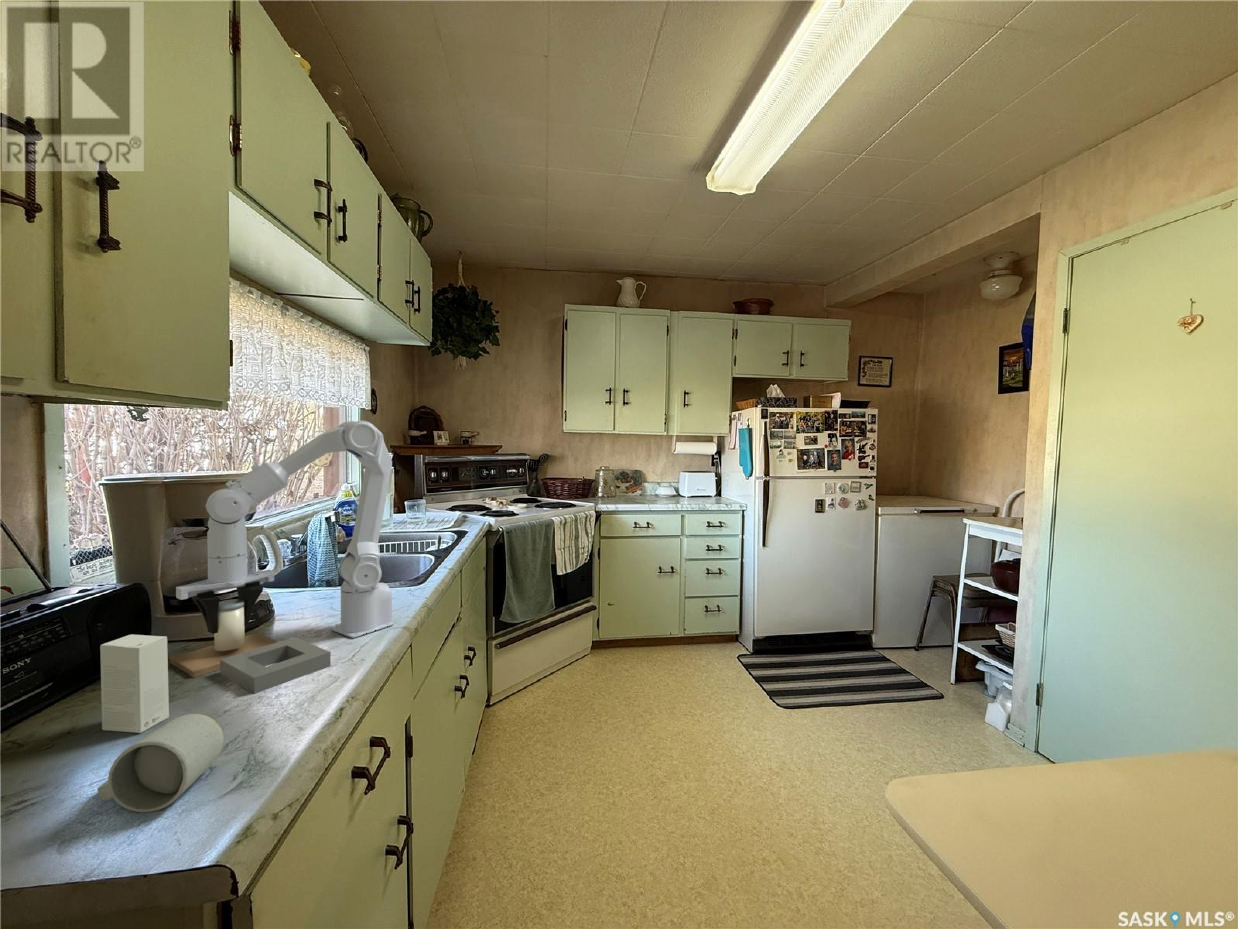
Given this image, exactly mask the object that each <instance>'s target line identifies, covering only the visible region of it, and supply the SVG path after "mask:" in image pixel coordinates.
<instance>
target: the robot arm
mask: <svg viewBox="0 0 1238 929" xmlns="http://www.w3.org/2000/svg"><path fill="white" fill-rule="evenodd" d="M341 452H349V453H350V454H351V455H353V456H354V457H355V458H356V459H357V461H358V462H360V463H361V465H362V466H363V467H364V471H363V476H362V482H361V489H360V492H359V498H358V505H357V511H356V515H355V521H354V526H353V530H352V537H351V541H350V542H349V544H348V546H347V548H346V553H345V555H344V557H343V558H342V559H341V560H340V562H339V565H338V573H339V576H340V577H341V578H342V579H343V582H342V584H341V585H340V624H339V625H337V626H333V627H331V631H333V632H336V633H338V634H341V635H343V636H346V637H349V638H351V639H355V638H358V637H361V636H364V635H367V634H370V633H372V632H376V631H379V630H382V629H385V628H387V626H388V627H390V626H393V625H394V624H395V622H393V621H392V620H393V619H392V618H393V617H392V616H393V615H392V614H393V613H392V612H393V607H392V606H393V603H392V602H393V601H392V600H393V599H392V598H393V597H392V591H391V588H390V587H389V586H388V584H387V583H385V582H380V581H381V578H382V573H383V572H382V569H381V565H380V558H381V554H380V553H381V552H380V547H379V539H380V533H381V529H382V523H383V517H384V511H385V506H386V501H387V494H388V489H389V484H390V478H391V472H392V468H393V460H392V458H391V457H392V456H391V455H390V453H389V450H388V448H387V446H386V443H385V441H384V434H383V433H382V432H381V431H380V430H379V428H377V427H376V426H375V425H374V424H372V423H371V422H369V421H366V420H357V421H353V420H349V421H348V420H346V421H344V422H342V423H340V424H339V425H338V426H336V427H333V428H330V429H329V430H326V431H324V432H322V433H320V434H319V435H317V436H316V437H314V438H313V439H312V440H310V441H308V442H307V443H305V444H303V446H301V447H299V448H298V449H296V450H295V451H293V452H291V453H290V454H289V455H287V456H286V457H285V458H283V459H281V460H280V461H278V462H268V461H266V462H263V463H261V464H259V463H255V464H253V465H252V466H250V469H251V470H250V471H249V472H247V473H246V474H244V475H242V476H241V477H239V478H237V479H235V480H234V481H233V482H232V480H228V482H226V483H225V486H226V487H227V488H221V489H217V490H215V491H214V492H212V493H211V494H209V496H208V498H207V500H206V504H205V506H204V507H205V509H206V512H207V513H208V515H209V517H208V521H207V527H208V531H207V533H206V534H207V535H206V536H207V538H206V540H207V541H206V542H207V545H206V546H207V579H203V580H200V581H196V582H192V583H189V584H185V585H179V586H176V587H175V597H176V599H178V600H180V601H181V600H187V599H189V598H191V599H192V600H193V602H194V603H195V605H196V606H197V608H198V609H199V611H200V613H201V614H202V617H203V619H204V621H205V624H206V625H205V626H206V629H207V632H208V633H210V634H211V635H214V634H215V633H217V632H218V618H217V615H218V606H219V602H221V601H220V600H221V598H220V597H218V596H217V594H216V593H217V592H222V591H227V590H232V589H236V592H237V597H238V598H237V599H242V600H244V601H245V606H244V626H248V625H250V620H251V618H252V617H251V616H252V613H253V610H254V608H255V606H256V603H257V601H258V600H259V598H260V596H261V594H262V593H263V591H264V585H262V584H261V583H265V582H266V583H271V582H275V571H274V570H271V569H267V570H260V571H249V572H248V529H247V528H246V517H247V515H248V514H249V510H250V508H251V507H257V506H259V505H260V504H262V503H263V502H265V501H266V500H268V499H269V498H271V497H272V496H274V495H275V494H277V493H278V492H280V491H281V490H283V489H284V488H287V486H288V484H289V478H290V477H291V476H292V475H294V474H295V473H297V472H299V471H300V470H302V469H304V468H305V467H307V466H308V465H310V464H312V463H314V462H315V461H317V460H318V459H320V458H322V457H323V456H325V455H327V454H330V453H341ZM375 630H376V631H375ZM366 633H367V634H366ZM363 634H364V635H363Z"/></svg>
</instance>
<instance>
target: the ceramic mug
mask: <svg viewBox="0 0 1238 929" xmlns="http://www.w3.org/2000/svg"><path fill="white" fill-rule="evenodd" d="M224 743H225V733H224V729H223V728H222V724H220V723H219V721H218V720H216V719H215V718H214V717H212V716H210V715H208V714H205V713H204V714H203V713H197V712H196V713H189V714H184V715H182V716H179V717H176V718H174V719H172V720H170V721H168V722H167V723H165V724H163V725H162V726H160V727H159V728H158V729H156V730H154V731H153V732H151V733H150V734H148V735H146V736H145V737H144V738H142V739H140V740H138V741H137V742H135V743H133V744H132V745H130V746H129V747H127V748H126V749H124V751H123V752H122V753H120V754H119V756H118V757H117V758H116V759H115V760H114V762H113V763H112V765H111V766H110V769H109V771H108V775H107V776H108V777H107V778H108V779H107V780H106V781H104V782H103V783H102V784H100V785H99V786H98V787H97V792H98V794H99V796H100V799H101V800H102V801H103V802H106V801H110V800H112V799H114V801H115V802H116V803H117V804H118V805H119V806H121V807H122V808H125V809H126V810H127V811H128V810H129V811H132V812H136V813H150V812H157V811H159V810H161V809H164V808H166V807H168V806H170V805H171V804H172V803H174V802H175V801H176V800H177V799H178V798H179V797H181V795H182V794H183V793H185V791H186V790H187V789H188V788H189V787H190V786H192V785H193V783H195V782H196V780H198V779H199V777H201V775H202V774H204V773H205V772H206V771H207V770H208V769H209V768H210V767H211V766H212V765H213V763H214V762H215V761H216V760H217V759H218V757H219V756H220V754H221V752H222V750H223V748H224V745H225V744H224Z"/></svg>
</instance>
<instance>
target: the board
mask: <svg viewBox="0 0 1238 929" xmlns="http://www.w3.org/2000/svg"><path fill="white" fill-rule="evenodd" d="M277 642H279V641H278V640H276V639H273V638H271V637H269V636H266V635H264V634H262V633H260V632H257V633H253V634H249V635H246V636H245V644H244V645H243V646H241V647H239V648H236V649H232V650H226V651H217V650H215V644H213V645H210V646H206V647H205V646H204V647H202V648H201V647H200V648H199V649H195V650H192V651H191V650H190V651H188V652H184V653H180V654H177V655H176V654H175V655H173V656H170V657H169V664H171V665H173V666H175V667H176V668H177V669H179V670H181V671H182V672H184V673H185V674H187V675H189V676H191V677H192V678H198V677H200V676H204V675H206V674H210V673H213V672H216V671H219V670H220V659H224V658H227V657H230V656H233V655H237V654H240V653H243V652H247V651H250V650H253V649H257V648H260V647H263V646H267V645H270V644H273V643H277Z"/></svg>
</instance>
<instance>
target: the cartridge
mask: <svg viewBox="0 0 1238 929" xmlns="http://www.w3.org/2000/svg"><path fill="white" fill-rule="evenodd" d="M244 606H245V601H244V600H242V599H238V598H235V599H227V600H222V601H219V606H218V615H217V618H218V632H217V633H215V634H213V636H214V638H213V639H214V640H213V641H214V644H213V645H215V650H217V651H226V650H232V649H236V648H239V647H241V646H243V645H244V644H245V625H244Z"/></svg>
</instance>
